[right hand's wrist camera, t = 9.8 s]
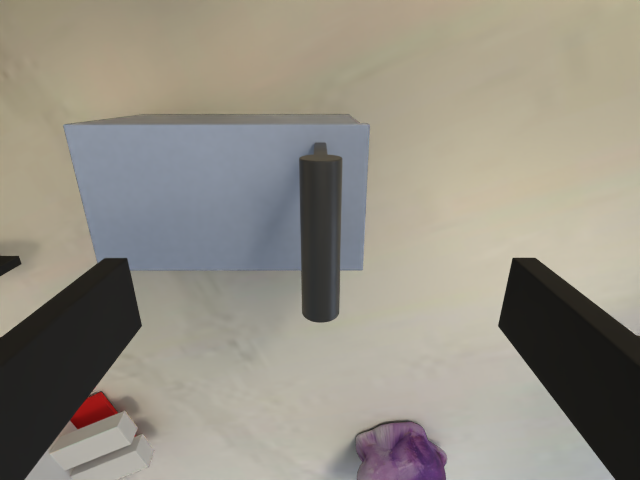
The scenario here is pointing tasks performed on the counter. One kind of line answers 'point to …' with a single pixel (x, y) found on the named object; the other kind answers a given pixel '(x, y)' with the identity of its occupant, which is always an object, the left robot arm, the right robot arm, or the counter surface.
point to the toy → (95, 446)
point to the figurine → (399, 454)
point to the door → (228, 198)
